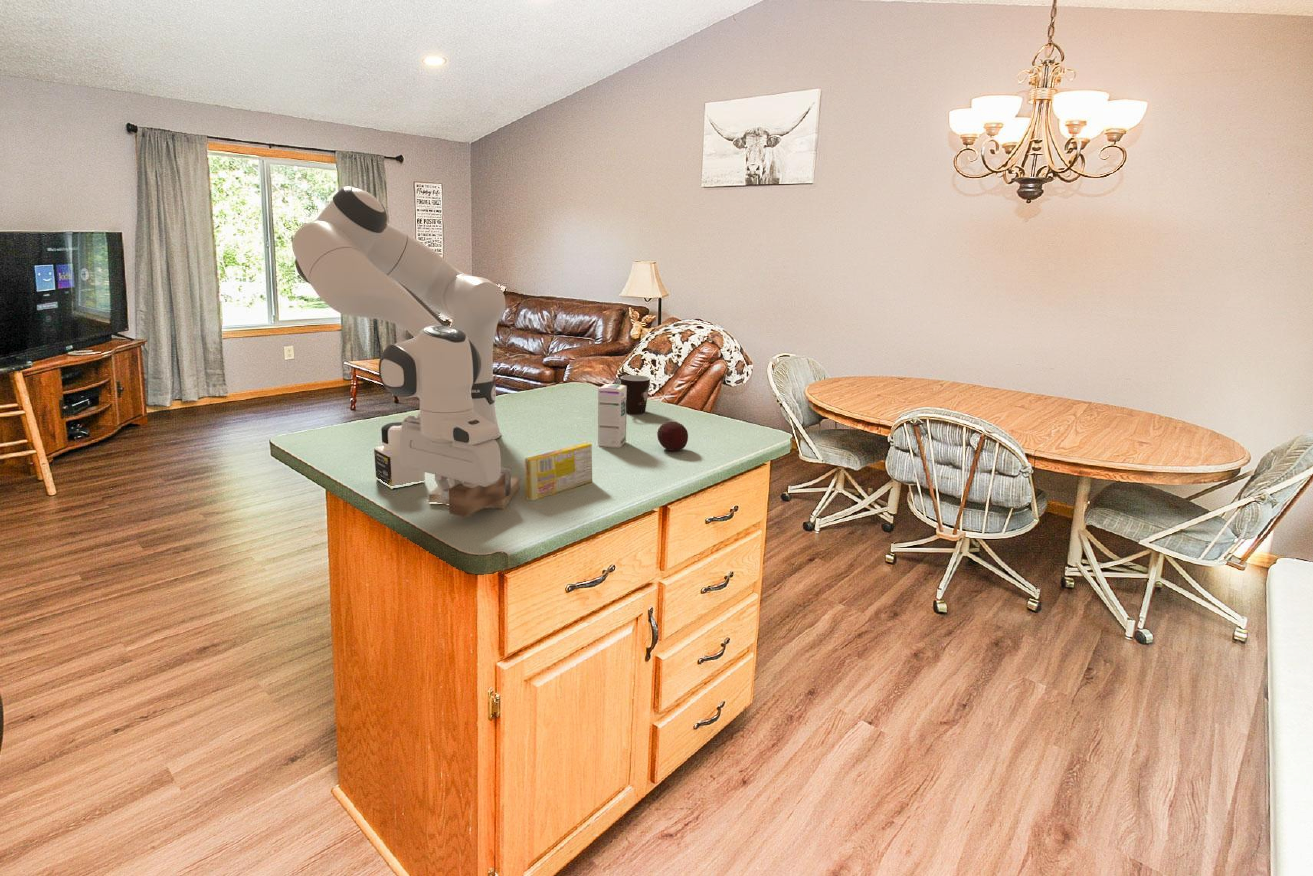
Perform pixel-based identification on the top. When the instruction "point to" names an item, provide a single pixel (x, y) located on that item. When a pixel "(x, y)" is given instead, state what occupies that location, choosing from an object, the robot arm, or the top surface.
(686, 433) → the dark red plum
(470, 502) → the folding leg
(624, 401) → the syrup box
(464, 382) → the robot arm
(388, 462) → the medicine bottle
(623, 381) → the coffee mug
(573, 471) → the candy box
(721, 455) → the top surface
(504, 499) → the stool seat
